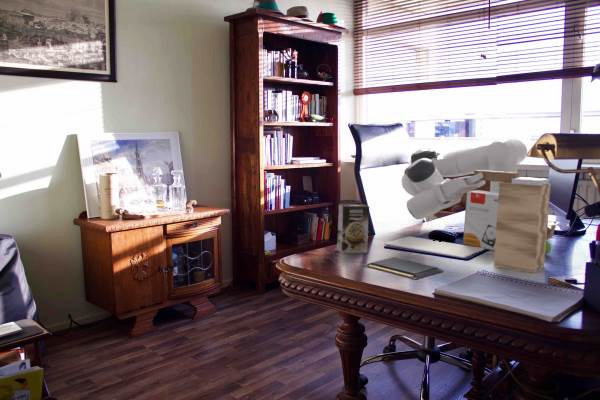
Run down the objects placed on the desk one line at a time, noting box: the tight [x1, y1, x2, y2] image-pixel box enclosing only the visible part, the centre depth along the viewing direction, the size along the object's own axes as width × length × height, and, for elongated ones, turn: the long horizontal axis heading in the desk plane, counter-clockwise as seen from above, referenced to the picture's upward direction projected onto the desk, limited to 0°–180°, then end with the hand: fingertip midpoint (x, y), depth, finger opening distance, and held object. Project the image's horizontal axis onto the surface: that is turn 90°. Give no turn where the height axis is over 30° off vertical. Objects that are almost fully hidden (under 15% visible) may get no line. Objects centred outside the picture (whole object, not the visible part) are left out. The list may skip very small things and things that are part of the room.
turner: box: [473, 170, 550, 186], centre depth 162 cm, size 9×21×3 cm, turn 49°
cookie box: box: [336, 203, 370, 255], centre depth 178 cm, size 9×6×16 cm
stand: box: [493, 182, 552, 274], centre depth 161 cm, size 10×12×26 cm
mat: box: [384, 235, 485, 259], centre depth 188 cm, size 18×30×1 cm, turn 50°
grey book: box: [362, 256, 445, 281], centre depth 157 cm, size 20×2×15 cm
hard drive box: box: [462, 189, 499, 252], centre depth 189 cm, size 16×8×20 cm, turn 41°
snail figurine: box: [545, 221, 557, 256], centre depth 178 cm, size 5×6×12 cm
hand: (485, 174), depth 167 cm, fingers closed on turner, 3 cm apart
